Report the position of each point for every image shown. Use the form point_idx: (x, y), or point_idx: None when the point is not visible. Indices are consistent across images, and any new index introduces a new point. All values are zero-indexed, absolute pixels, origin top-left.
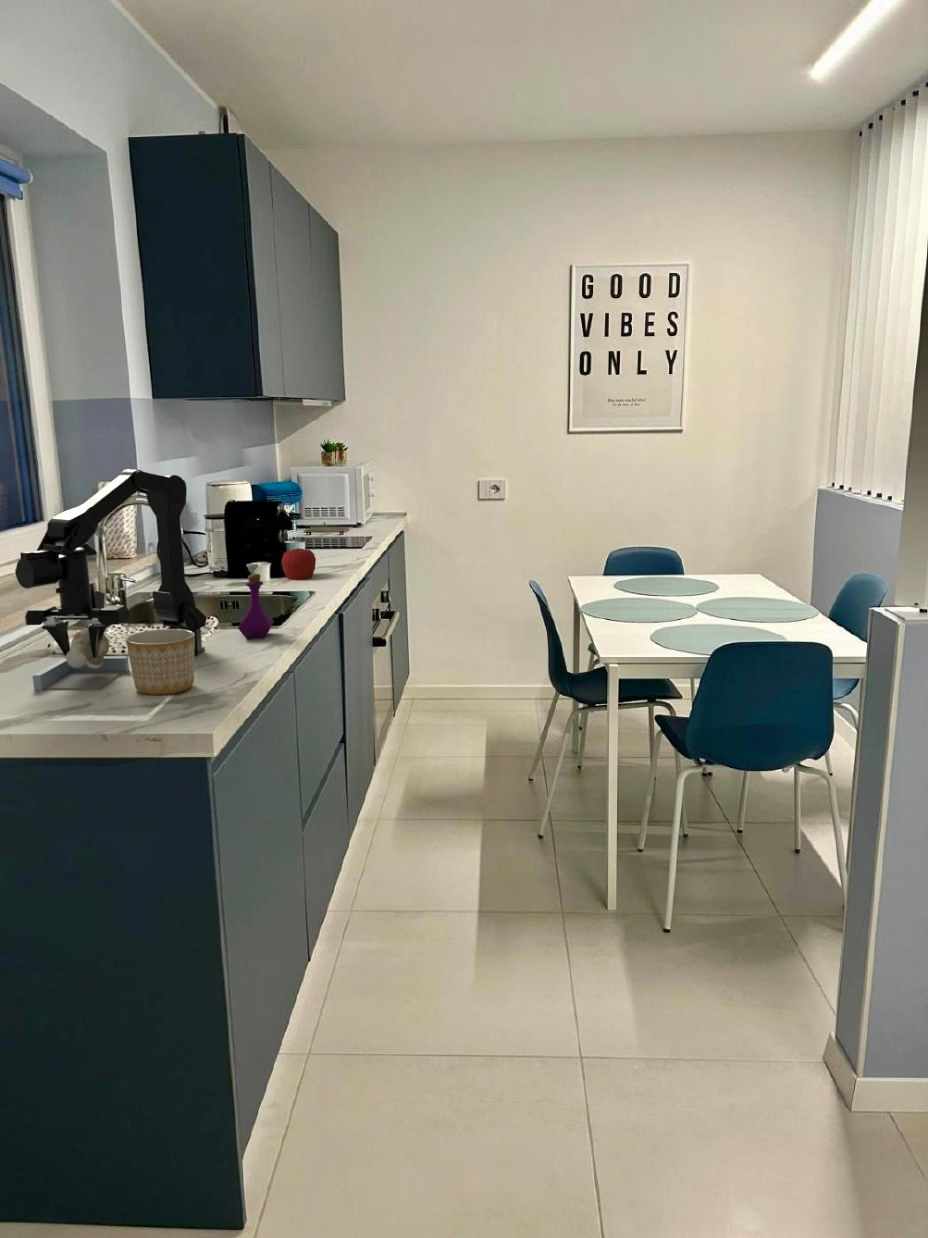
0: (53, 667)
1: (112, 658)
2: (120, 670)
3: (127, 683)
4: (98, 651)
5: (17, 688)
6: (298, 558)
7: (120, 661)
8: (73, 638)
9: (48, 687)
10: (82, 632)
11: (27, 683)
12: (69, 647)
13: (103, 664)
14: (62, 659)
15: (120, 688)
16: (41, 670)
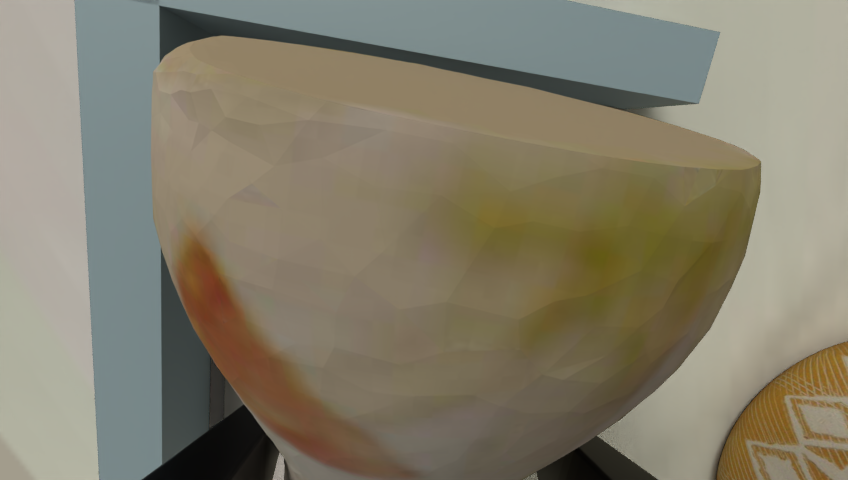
0: (154, 342)
1: (590, 84)
2: (594, 101)
3: None
4: (595, 441)
5: (24, 405)
6: None
7: (640, 97)
8: (213, 359)
9: None
10: (394, 418)
11: (21, 303)
12: (255, 459)
13: (486, 74)
14: (87, 45)
15: (629, 442)
16: (96, 419)
